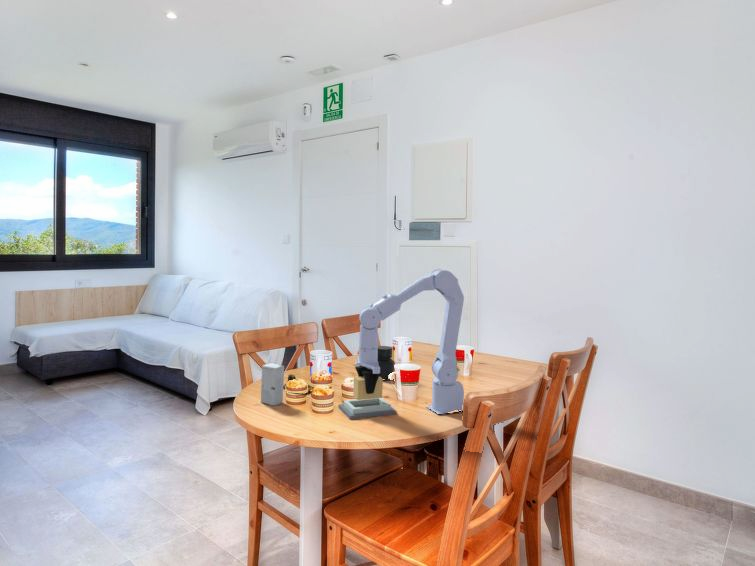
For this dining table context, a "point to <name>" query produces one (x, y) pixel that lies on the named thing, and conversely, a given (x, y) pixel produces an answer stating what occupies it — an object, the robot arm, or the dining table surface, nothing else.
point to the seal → (291, 377)
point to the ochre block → (361, 389)
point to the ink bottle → (385, 361)
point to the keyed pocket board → (366, 408)
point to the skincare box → (272, 384)
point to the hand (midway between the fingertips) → (367, 391)
